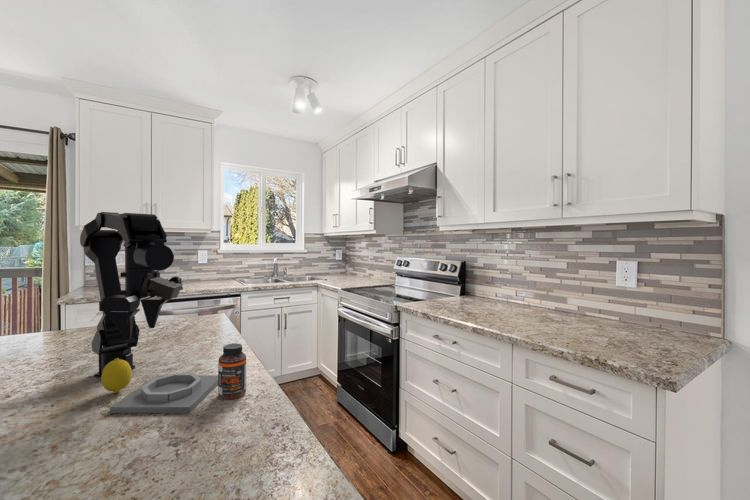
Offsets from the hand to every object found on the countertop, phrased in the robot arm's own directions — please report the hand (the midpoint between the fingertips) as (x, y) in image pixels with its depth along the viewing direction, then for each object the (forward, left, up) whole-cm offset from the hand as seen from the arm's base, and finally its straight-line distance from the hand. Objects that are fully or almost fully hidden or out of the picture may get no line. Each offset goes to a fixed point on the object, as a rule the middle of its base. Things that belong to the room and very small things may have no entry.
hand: (140, 333), depth 80 cm
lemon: (-4, -3, -13) cm, 14 cm away
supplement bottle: (+23, -3, -13) cm, 26 cm away
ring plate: (+9, -4, -13) cm, 16 cm away
